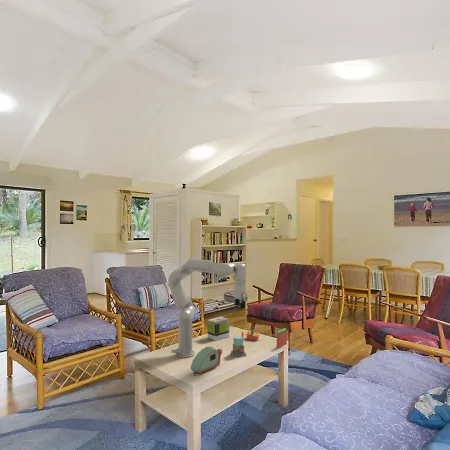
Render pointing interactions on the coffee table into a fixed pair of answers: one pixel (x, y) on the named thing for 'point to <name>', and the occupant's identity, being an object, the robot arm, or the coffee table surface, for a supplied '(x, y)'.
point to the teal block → (238, 341)
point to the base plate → (238, 354)
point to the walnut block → (238, 349)
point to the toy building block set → (280, 337)
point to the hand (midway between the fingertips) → (240, 306)
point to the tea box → (218, 328)
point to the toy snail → (206, 360)
